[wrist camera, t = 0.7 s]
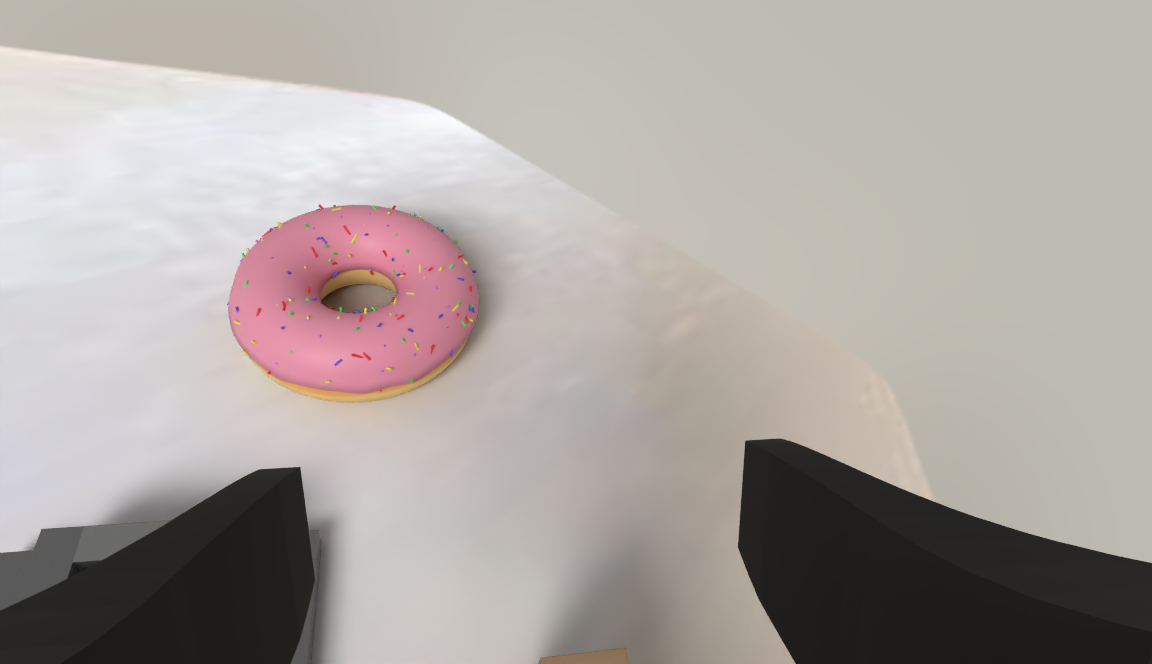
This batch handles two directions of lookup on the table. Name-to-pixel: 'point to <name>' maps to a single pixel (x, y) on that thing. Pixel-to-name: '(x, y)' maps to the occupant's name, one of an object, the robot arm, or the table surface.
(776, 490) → the robot arm
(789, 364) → the table surface
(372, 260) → the doughnut
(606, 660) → the door panel
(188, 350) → the table surface
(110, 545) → the floor track
